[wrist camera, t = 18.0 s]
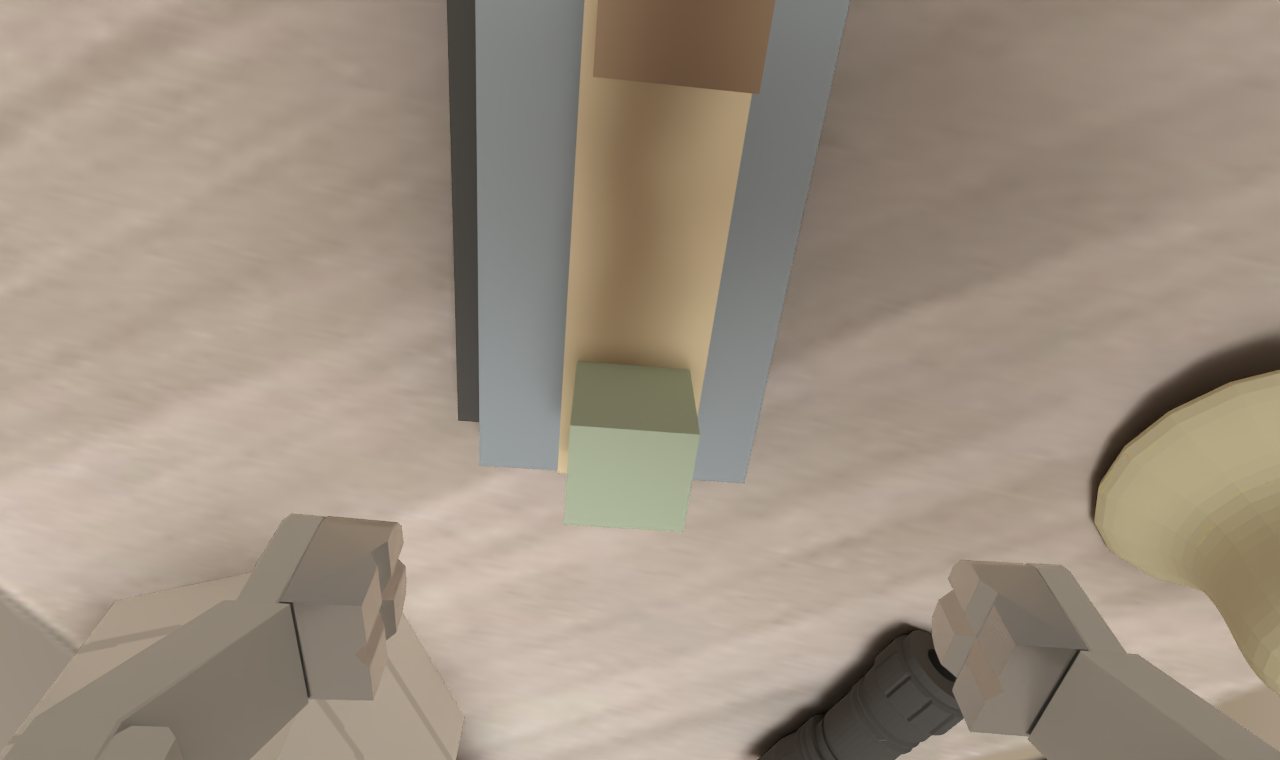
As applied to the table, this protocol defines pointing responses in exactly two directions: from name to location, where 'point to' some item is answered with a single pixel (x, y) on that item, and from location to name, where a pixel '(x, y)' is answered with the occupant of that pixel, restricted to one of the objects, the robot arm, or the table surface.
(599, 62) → the block
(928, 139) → the table surface
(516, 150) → the dock
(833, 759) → the flashlight
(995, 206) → the table surface
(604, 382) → the block
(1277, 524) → the handbell
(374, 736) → the pizza boxes
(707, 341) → the pallet
